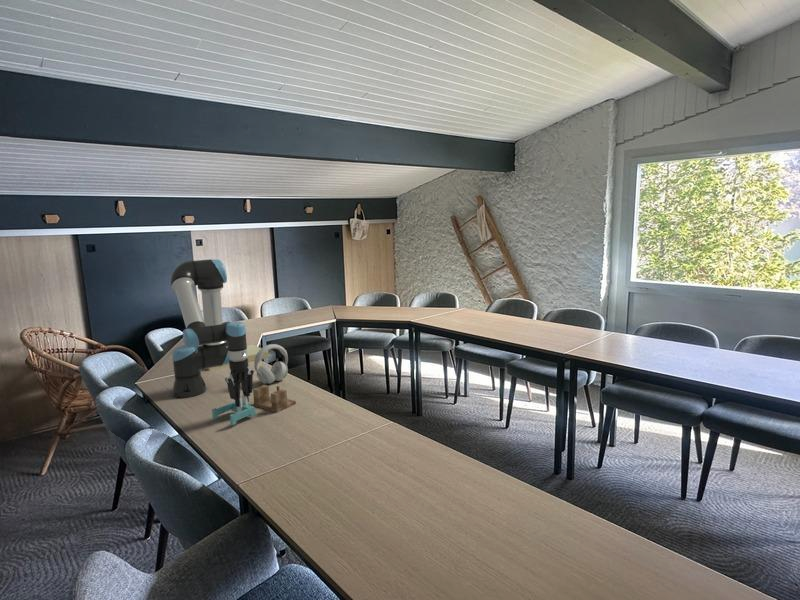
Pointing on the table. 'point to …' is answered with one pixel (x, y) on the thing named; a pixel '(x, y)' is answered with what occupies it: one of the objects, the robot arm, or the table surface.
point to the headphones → (277, 369)
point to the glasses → (246, 411)
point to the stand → (271, 399)
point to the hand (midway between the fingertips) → (242, 411)
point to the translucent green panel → (251, 353)
